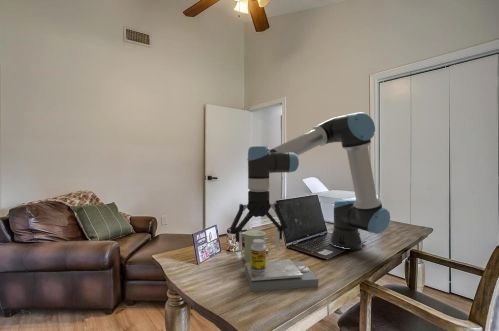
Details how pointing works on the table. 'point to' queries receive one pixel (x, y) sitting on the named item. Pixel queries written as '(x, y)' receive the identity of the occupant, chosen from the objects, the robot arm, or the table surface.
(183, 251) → the table surface
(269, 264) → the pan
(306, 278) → the scale base
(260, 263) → the supplement bottle
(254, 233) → the can
